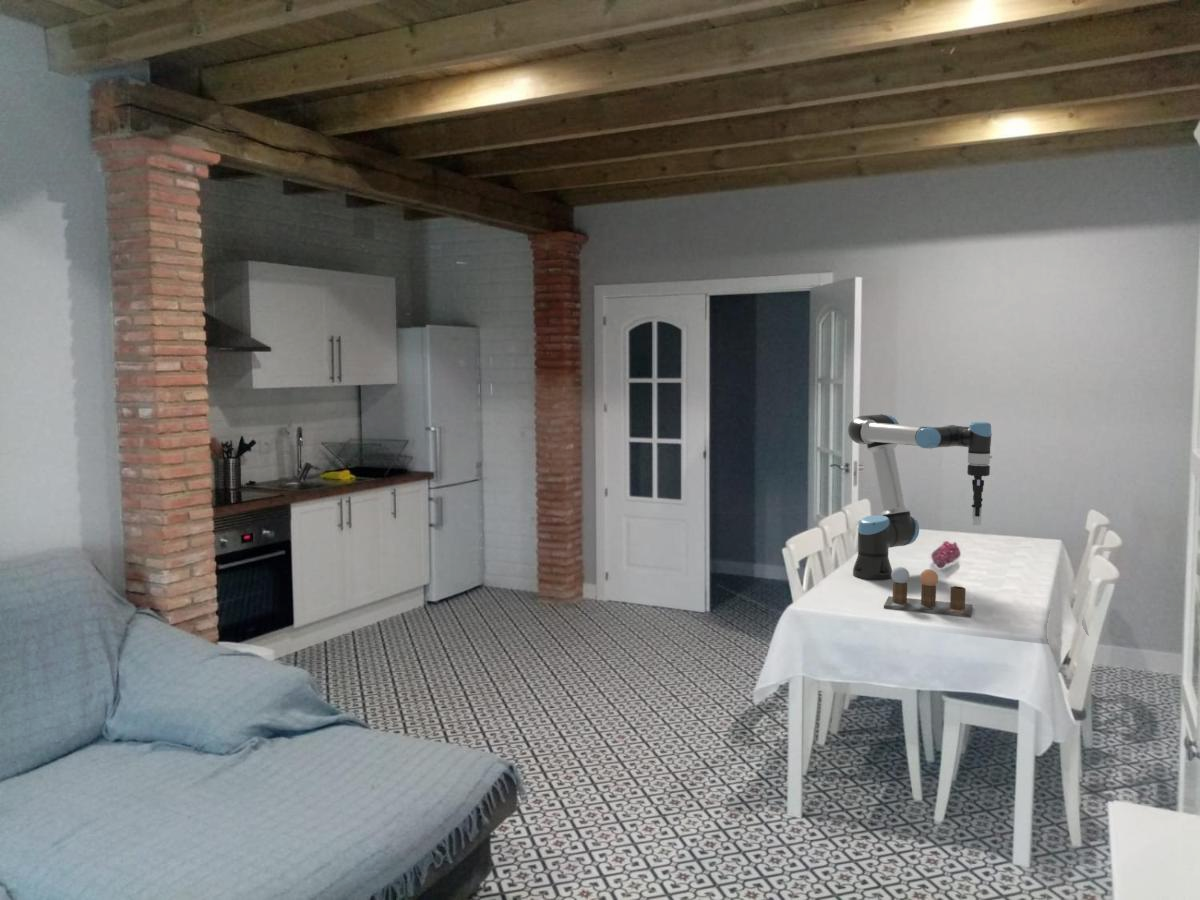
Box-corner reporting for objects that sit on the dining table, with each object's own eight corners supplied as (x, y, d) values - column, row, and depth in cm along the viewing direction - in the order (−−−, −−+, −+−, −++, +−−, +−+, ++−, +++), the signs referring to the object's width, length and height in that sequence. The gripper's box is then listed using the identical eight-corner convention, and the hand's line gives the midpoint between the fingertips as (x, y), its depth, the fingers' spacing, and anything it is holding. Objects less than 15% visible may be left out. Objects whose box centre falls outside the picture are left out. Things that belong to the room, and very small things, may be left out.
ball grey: (890, 585, 320) (890, 568, 319) (892, 581, 325) (892, 564, 325) (908, 586, 317) (908, 569, 317) (910, 582, 323) (910, 566, 322)
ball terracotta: (918, 587, 316) (919, 570, 315) (920, 583, 321) (921, 566, 321) (937, 589, 313) (937, 572, 313) (938, 585, 319) (939, 568, 318)
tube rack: (883, 608, 318) (884, 585, 317) (888, 598, 330) (889, 577, 329) (970, 617, 306) (971, 593, 306) (972, 607, 318) (973, 584, 317)
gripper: (990, 469, 321) (988, 528, 324) (989, 461, 345) (986, 516, 347) (967, 468, 324) (965, 527, 327) (967, 460, 347) (965, 515, 350)
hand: (976, 521), depth 337 cm, fingers open, 13 cm apart
